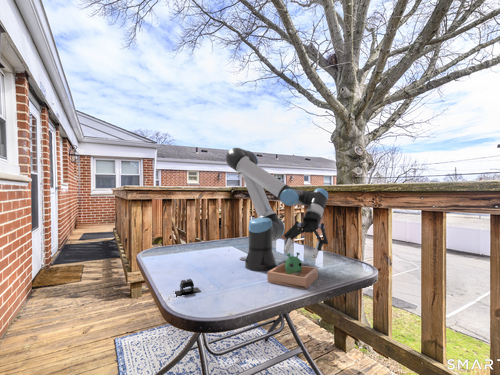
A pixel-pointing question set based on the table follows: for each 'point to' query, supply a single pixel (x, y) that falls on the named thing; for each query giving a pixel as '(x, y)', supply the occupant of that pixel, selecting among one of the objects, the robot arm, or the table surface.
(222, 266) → the table surface
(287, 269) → the alien toy
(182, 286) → the black box
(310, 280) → the planter tray
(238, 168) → the robot arm
